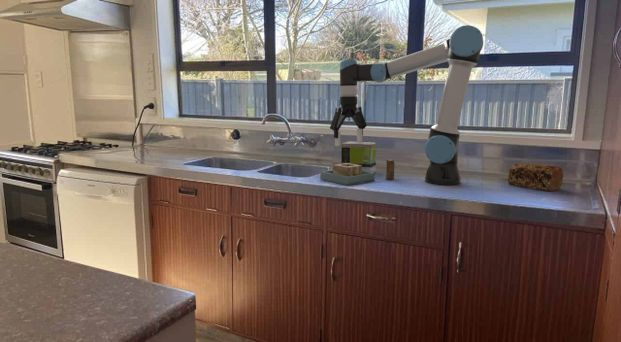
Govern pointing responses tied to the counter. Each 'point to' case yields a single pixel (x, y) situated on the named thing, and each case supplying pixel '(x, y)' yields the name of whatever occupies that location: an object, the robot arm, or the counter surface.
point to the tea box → (359, 155)
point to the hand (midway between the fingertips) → (348, 144)
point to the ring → (347, 169)
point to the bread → (536, 176)
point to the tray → (347, 178)
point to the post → (390, 169)
